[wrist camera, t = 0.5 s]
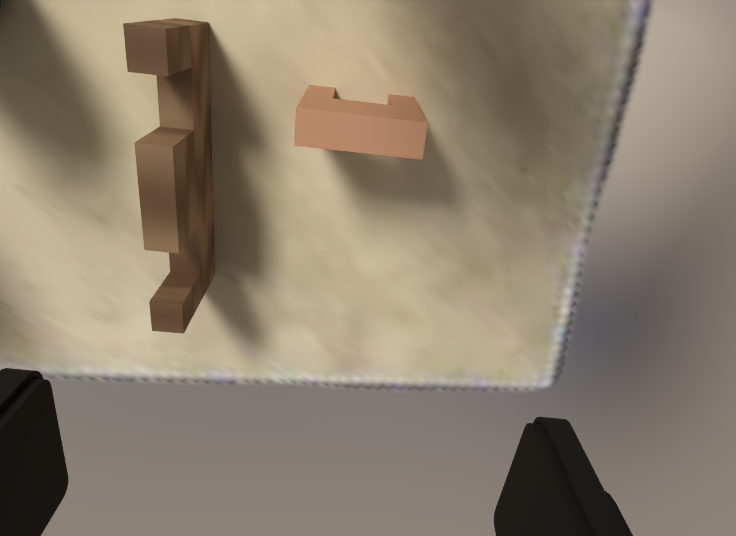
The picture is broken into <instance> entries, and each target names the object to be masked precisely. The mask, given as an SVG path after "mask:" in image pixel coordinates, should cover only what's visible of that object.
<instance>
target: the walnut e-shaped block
mask: <svg viewBox="0 0 736 536" xmlns="http://www.w3.org/2000/svg"><path fill="white" fill-rule="evenodd" d="M123 26H124V36H125V47H126V58H127V68H128V72H135V73H144V74H152V75H157V87H158V102H159V116H160V127H159V128H157V129H155V130H154V131H152V132H151V133H149V134H147V135H146V136H144V137H143V138H141V139H140V140H138V141H136V142H135V153H136V164H137V175H138V185H139V196H140V207H141V217H142V228H143V238H144V249H145V250H151V251H161V252H169V259H170V273H169V274H168V276H167V277H166V279H165V280H164V281H163V283H162V284H161V286H160V287H159V289H158V290H157V292H156V293H155V294H154V296H153V297H152V299H151V300H150V313H151V324H152V331H162V332H173V333H184V332H185V330H186V328H187V326H188V324H189V322H190V321H191V319H192V317H193V315H194V313H195V311H196V309H197V307H198V305H199V304H200V302H201V300H202V298H203V296H204V294H205V292H206V290H207V288H208V286H209V285H210V283H211V281H212V279H213V277H214V275H215V268H214V228H213V187H212V147H211V107H210V66H209V26H208V22H200V21H192V20H184V19H165V20H155V21H144V22H134V23H124V24H123Z"/></svg>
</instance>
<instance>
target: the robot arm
mask: <svg viewBox="0 0 736 536" xmlns="http://www.w3.org/2000/svg"><path fill="white" fill-rule="evenodd" d="M67 486H68V473H67V468H66V463H65V457H64V452H63V446H62V441H61V436H60V431H59V425H58V420H57V414H56V409H55V404H54V398H53V393H52V387H51V384H50V382H49V381H48V380H44V379H43V377H42V374H41V373H40V372H38V371H32V370H21V369H10V368H5V369H2V370H1V371H0V536H41V534H42V532H43V531H44V529H45V527H46V526H47V524H48V522H49V521H50V519H51V517H52V516H53V514H54V513H55V511H56V509H57V507H58V506H59V504H60V502H61V501H62V499H63V497H64V495H65V493H66V490H67ZM494 527H495V532H496V536H633V535H632V533H631V531H630V529H629V527H628V525H627V524H626V522H625V520H624V518H623V516H622V514H621V512H620V510H619V508H618V506H617V504H616V503H615V501H614V500H613V498H612V497H611V495H610V494H608V493H607V492H606V491H604V489H603V487H602V485H601V483H600V481H599V479H598V477H597V475H596V473H595V471H594V469H593V467H592V465H591V463H590V461H589V460H588V458H587V456H586V454H585V452H584V450H583V448H582V446H581V444H580V442H579V440H578V438H577V436H576V434H575V432H574V430H573V428H572V426H571V425H570V423H569V422H568V421H567V420H566V419H557V418H546V417H537V418H536V419H535V420H534V422H533V424H532V423H528V424H527V425H526V426H525V428H524V431H523V434H522V437H521V439H520V443H519V445H518V448H517V450H516V453H515V456H514V459H513V462H512V464H511V467H510V470H509V473H508V476H507V478H506V481H505V484H504V487H503V490H502V492H501V495H500V498H499V501H498V504H497V506H496V509H495V513H494Z"/></svg>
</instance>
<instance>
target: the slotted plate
mask: <svg viewBox="0 0 736 536" xmlns="http://www.w3.org/2000/svg"><path fill="white" fill-rule="evenodd" d="M334 97H335V88H330V87H321V86H313V85H309V87H308V89H307V90H306V92H305V94H304V95H303V97H302V99H301V100H300V102H299V104H298V105H297V107H296V123H295V143H294V145H295V146H304V147H313V148H322V149H331V150H340V151H349V152H358V153H367V154H376V155H385V156H394V157H403V158H412V159H421V160H422V159H423V153H424V147H425V141H426V135H427V129H428V121H427V119H426V118H425V116H424V114H423V112H422V110H421V109H420V107H419V105H418V103H417V102H416V100H415V98H414V97H405V96H397V95H389V99H388V105H384V104H376V103H367V102H359V101H350V100H342V99H334Z"/></svg>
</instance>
